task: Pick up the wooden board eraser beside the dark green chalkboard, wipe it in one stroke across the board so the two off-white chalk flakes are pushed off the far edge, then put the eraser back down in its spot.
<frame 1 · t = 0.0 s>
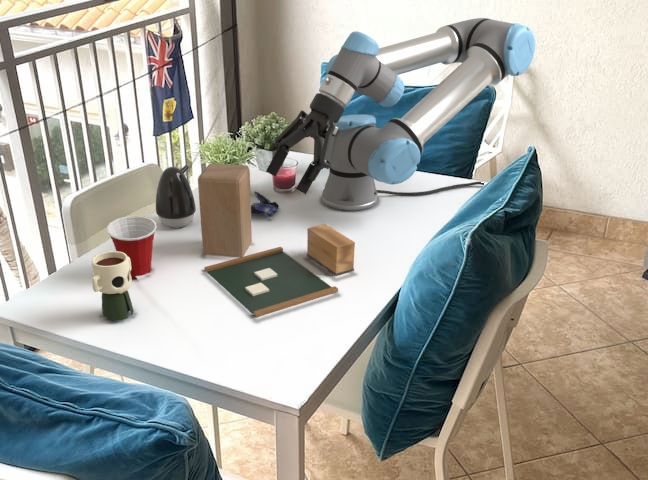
hand: (285, 182, 164), 15 cm above the table, tool tilted 35°, fingers open, 13 cm apart
black egg-shaped piece: (177, 224, 182), on the table
eraser: (329, 266, 161), on the table
character mug: (118, 316, 144), on the table
plastic cup: (138, 274, 159), on the table
chalk flake A: (265, 275, 155), point 1 cm above the table, touching chalkboard
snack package: (257, 213, 187), on the table
block: (228, 251, 168), on the table
chalkboard: (269, 284, 154), on the table
chalk flake B: (257, 290, 150), point 1 cm above the table, touching chalkboard
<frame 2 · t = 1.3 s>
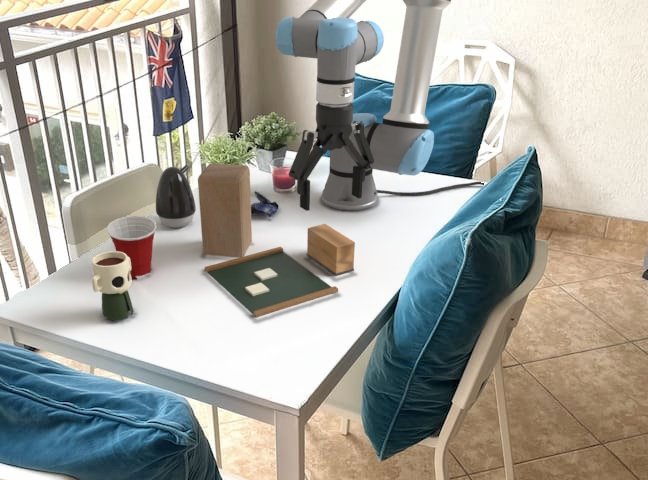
hand: (331, 202, 152), 16 cm above the table, tool pointing down, fingers open, 13 cm apart
nothing on the table moved.
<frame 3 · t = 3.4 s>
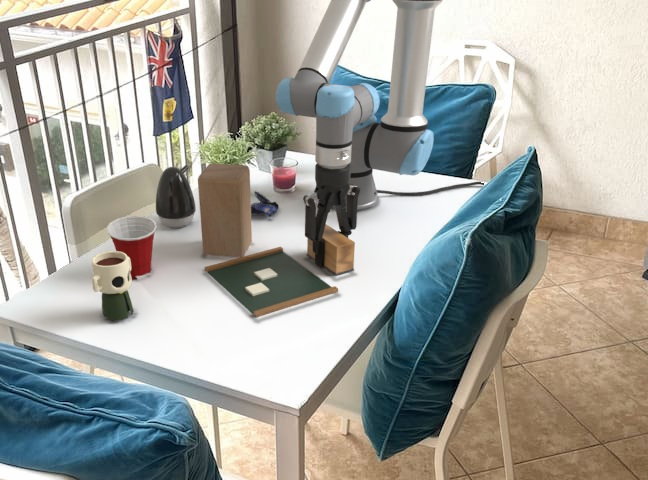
hand: (329, 261, 160), 1 cm above the table, tool pointing down, fingers closed on eraser, 5 cm apart
eraser: (329, 266, 161), on the table, touching gripper
everything else where it was.
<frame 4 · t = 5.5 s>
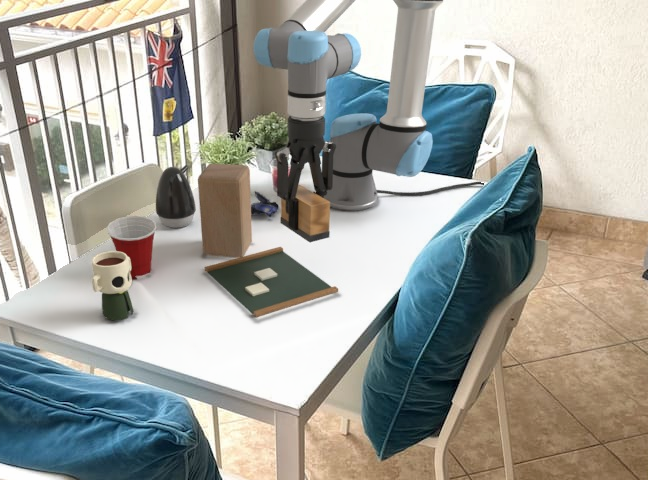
hand: (304, 224, 151), 12 cm above the table, tool pointing down, fingers closed on eraser, 5 cm apart
eraser: (304, 230, 151), point 11 cm above the table, touching gripper
everything else where it was.
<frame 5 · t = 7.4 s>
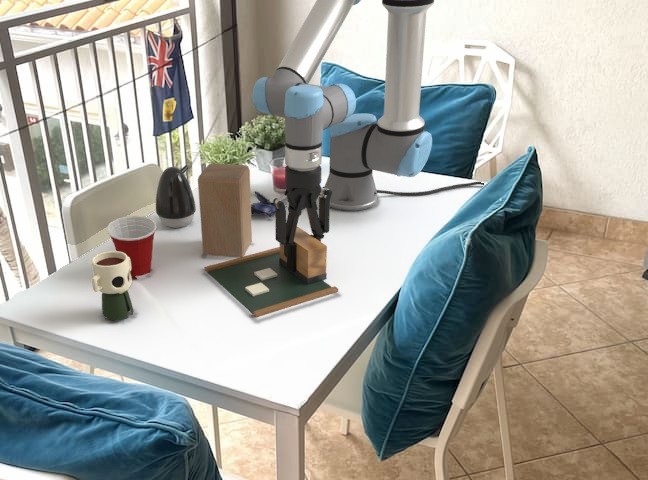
hand: (302, 266, 156), 2 cm above the table, tool pointing down, fingers closed on eraser, 5 cm apart
eraser: (302, 270, 157), point 1 cm above the table, touching gripper
everything else where it was.
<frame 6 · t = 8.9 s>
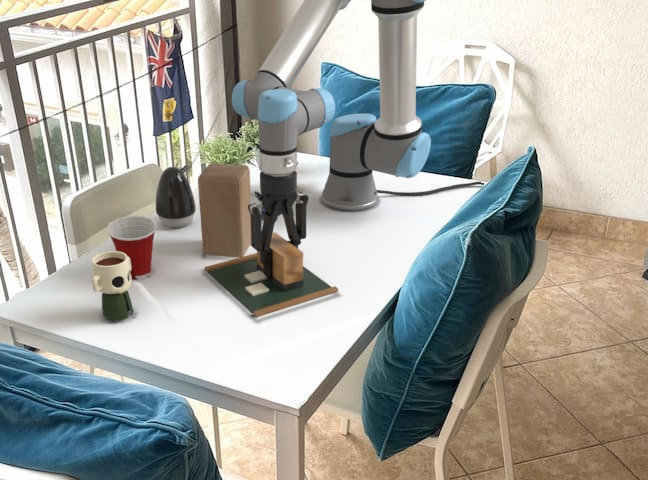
hand: (279, 272, 154), 2 cm above the table, tool pointing down, fingers closed on eraser, 5 cm apart
eraser: (279, 277, 154), point 1 cm above the table, touching gripper
chalk flake A: (256, 278, 154), point 1 cm above the table, touching chalkboard
everything else where it was.
when the fingers open (1 cm above the table, at t = 19.1 s): eraser stays where it is, on the table.
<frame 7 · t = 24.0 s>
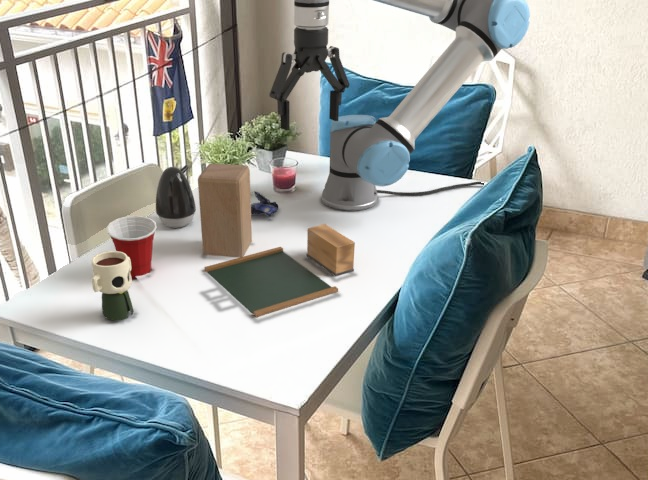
hand: (309, 124, 164), 27 cm above the table, tool pointing down, fingers open, 13 cm apart
eraser: (329, 267, 160), on the table
chalk flake A: (214, 295, 151), on the table
chalk flake B: (225, 304, 147), on the table
everything else where it was.
at the end: chalk flake A inside the target area (3.4 cm from its centre), on the table; chalk flake B inside the target area (3.5 cm from its centre), on the table; eraser inside the target area (0.1 cm from its centre), on the table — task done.
